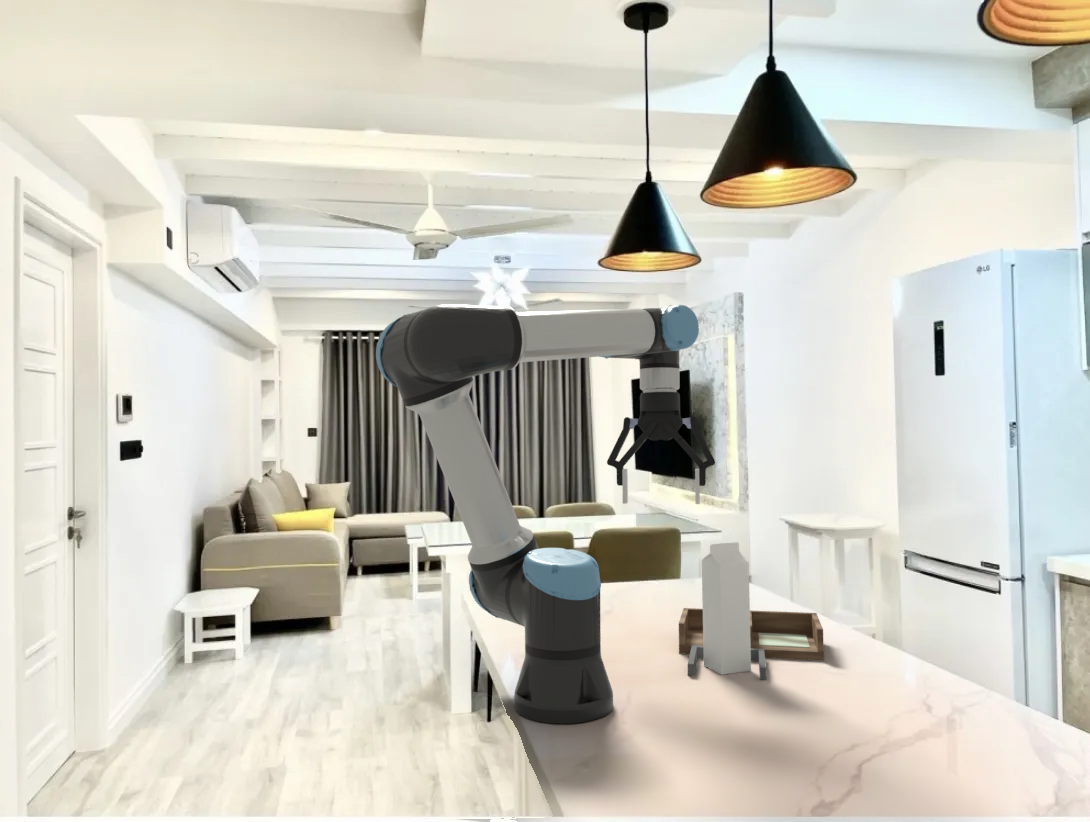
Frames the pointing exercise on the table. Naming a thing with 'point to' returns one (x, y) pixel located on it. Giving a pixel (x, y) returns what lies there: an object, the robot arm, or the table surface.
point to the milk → (726, 609)
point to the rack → (765, 633)
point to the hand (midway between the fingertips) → (661, 503)
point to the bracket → (755, 656)
